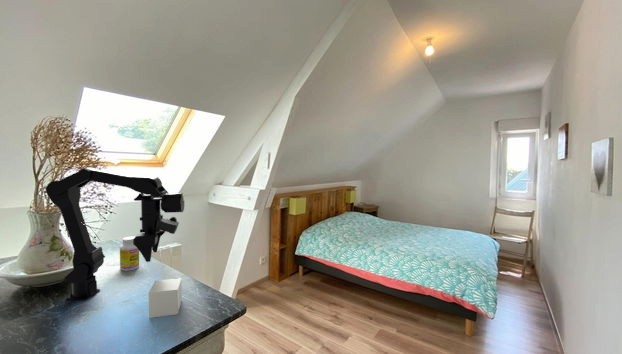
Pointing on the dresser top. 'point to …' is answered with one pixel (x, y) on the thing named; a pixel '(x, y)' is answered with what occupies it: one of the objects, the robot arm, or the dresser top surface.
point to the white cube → (165, 297)
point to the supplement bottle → (129, 255)
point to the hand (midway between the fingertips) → (151, 256)
